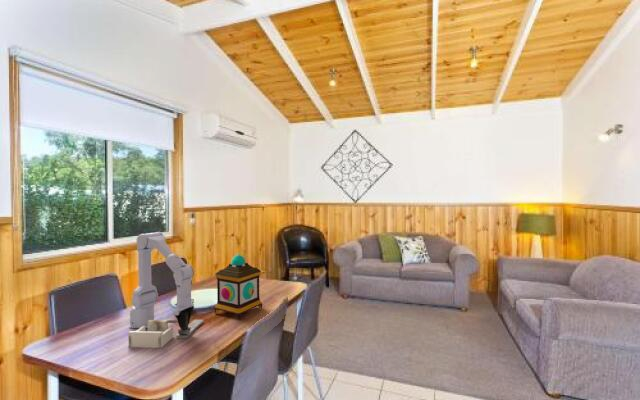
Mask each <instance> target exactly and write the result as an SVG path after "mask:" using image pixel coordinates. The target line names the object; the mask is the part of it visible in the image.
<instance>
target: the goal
mask: <svg viewBox="0 0 640 400" xmlns="http://www.w3.org/2000/svg"><path fill="white" fill-rule="evenodd" d="M127 336H128V348H149V349H151V348H157V349H158V348H159V349H161V348H162V347H164V346H165V345H166V344H167V343H168V342H169V341H171V340H172V338H174V327H173V326H168V329H167V330H166V331H164V332H160V331H148V330H146V328H145V326H142V327H141V328H137V329H136V330H129V331H128V335H127Z"/></svg>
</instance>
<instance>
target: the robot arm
mask: <svg viewBox="0 0 640 400" xmlns="http://www.w3.org/2000/svg"><path fill="white" fill-rule="evenodd" d="M155 249H156V250H157V251H158V252H159V253H160V254H161V255H162V256H163V257H164V258H165V259H166V260H165V264H166V265H167V266H168V268H169V269H170V270H171V271H172V273H173V274H172V275H173V276H172V277H173V279H174V283H175V285H176V303H177V305H175V308H174V309H173V311H172V312H173V316H174V317H175V319H177V320H178V323H177V324H178V326H179V329H180V328H184V327H185V325H186V317H187V314H188V325H189V324H190V321H191V317H192V314H193V310H194V309H195V304H194V303H195V299H194V298H192V278H193V277H194V275H195V271H194V270H195V269H194V267H193V266H192V265H190V264H187V263H185V261H183V259H182V258H181V256H180V255H179V254H178V253H173V251H172V250H171V248H170V247H169V245H168V244H167V242H166V236H165V235H164V233H163V232H161V231H156V232H148V233H140V234H138V236H136V251H137V255H138V256H137V257H138V258H137V259H138V261H137V263H138V264H137V265H138V286H137V287H136V288H135V289H134V290H133V291H132V297H131V304H132V308H131V309H130V313H129V321H130V322H129V326H128V328H129V329H134V328H135V329H139V328H141V327H142V326H145V329H148V321H149V320H155V305H156V303H157V301H158V300H159V293H158V290H157V289H158V288H157V286H155V285H153V283H152V282H153V280H152V252H153V250H155Z"/></svg>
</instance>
